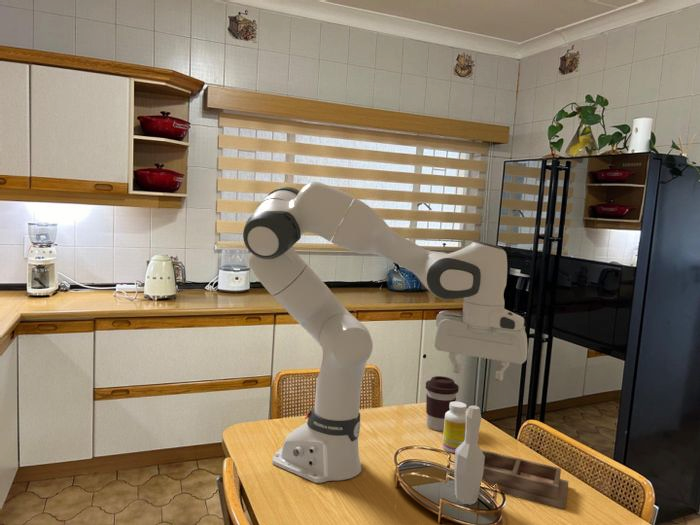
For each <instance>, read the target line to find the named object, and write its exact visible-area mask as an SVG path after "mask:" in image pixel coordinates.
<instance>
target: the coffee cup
mask: <svg viewBox="0 0 700 525" xmlns="http://www.w3.org/2000/svg"><path fill="white" fill-rule="evenodd" d="M459 388H460V386H459V385H458V384H457V383H456V382H455V380H454V379H452V378H451V377H447V376H442V375H438V376H432V377H430V379H429V380H427V381H426V382H425V389H426V391H427V393H426V395H425V396H426V397H425V398H426V401H425V402H426V406H425V408H426V410H425V411H426V426H427V428H429V429H431V430H433V431H436V432H437V431H438V432H444V421H445V414H446V412H447V411H449V410H450V408H449V405H450V402H454V401H456V402H457V397H456V395H457V394H458V392H459Z"/></svg>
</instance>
